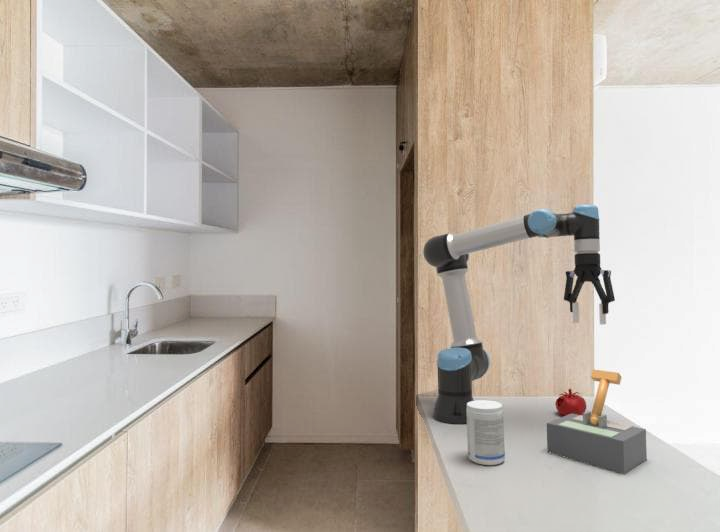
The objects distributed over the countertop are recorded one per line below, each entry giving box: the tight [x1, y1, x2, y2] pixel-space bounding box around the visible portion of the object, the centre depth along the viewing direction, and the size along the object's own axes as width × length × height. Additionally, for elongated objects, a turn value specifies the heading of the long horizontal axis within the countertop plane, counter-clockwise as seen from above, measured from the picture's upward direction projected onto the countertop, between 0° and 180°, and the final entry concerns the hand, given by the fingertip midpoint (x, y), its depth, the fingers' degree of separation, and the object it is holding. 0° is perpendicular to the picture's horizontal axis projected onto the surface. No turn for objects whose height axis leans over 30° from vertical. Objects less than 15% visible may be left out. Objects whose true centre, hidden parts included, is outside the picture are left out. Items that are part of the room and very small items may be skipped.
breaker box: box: [546, 410, 648, 475], centre depth 129 cm, size 20×14×11 cm
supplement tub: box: [466, 399, 506, 466], centre depth 127 cm, size 10×10×15 cm
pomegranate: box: [555, 388, 587, 417], centre depth 167 cm, size 10×10×9 cm
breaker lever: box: [590, 369, 622, 425], centre depth 131 cm, size 7×2×16 cm
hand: (589, 323), depth 154 cm, fingers open, 8 cm apart
